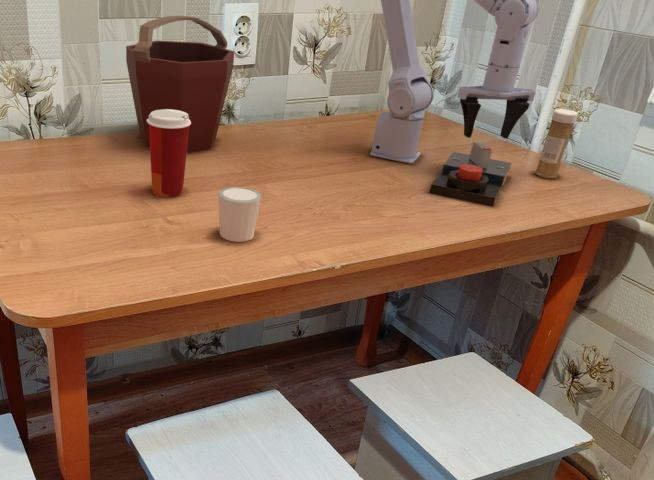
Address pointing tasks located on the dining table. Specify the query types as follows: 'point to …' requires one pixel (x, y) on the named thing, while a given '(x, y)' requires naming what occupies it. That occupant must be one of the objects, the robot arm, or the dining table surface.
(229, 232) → the white tapered cup
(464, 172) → the red button
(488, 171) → the base
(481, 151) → the tap lever
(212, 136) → the bucket
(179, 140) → the paper cup
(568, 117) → the spice jar
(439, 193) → the button box
